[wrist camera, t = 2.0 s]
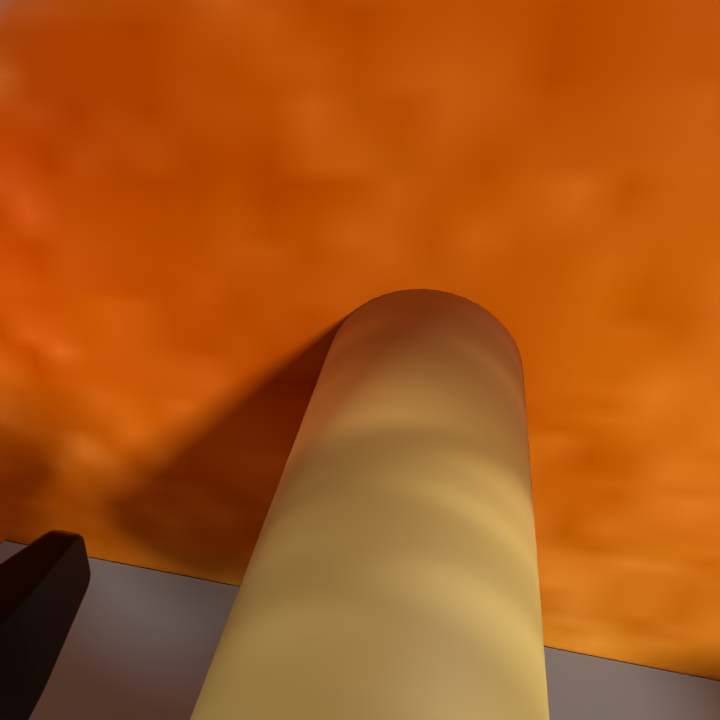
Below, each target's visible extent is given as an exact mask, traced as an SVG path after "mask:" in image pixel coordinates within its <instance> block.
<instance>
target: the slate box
mask: <svg viewBox="0 0 720 720" xmlns="http://www.w3.org/2000/svg"><path fill="white" fill-rule="evenodd" d="M26 546H27V545H23V544H18V543H13V542H8V541H3V542H2V543H1V544H0V564H1V563H2V562H4V561H5V560H6V559H8V558H9V557H11V556H12V555H14V554H15V553H17V552H18V551H20V550H21V549H23V548H24V547H26ZM88 561H89V566H90V571H91V576H90V582H89V586H88V589H87V591H86V594H85V596H84V598H83V601H82V603H81V605H80V608H79V610H78V612H77V615H76V617H75V619H74V622H73V624H72V626H71V629H70V631H69V634H68V636H67V638H66V641H65V643H64V645H63V648H62V650H61V652H60V655H59V657H58V659H57V662H56V664H55V666H54V669H53V671H52V673H51V676H50V678H49V680H48V682H47V685H46V687H45V689H44V691H43V693H42V695H41V697H40V699H39V701H38V703H37V705H36V707H35V709H34V711H33V712H32V714H31V716H30V718H29V720H190V718H191V716H192V713H193V710H194V708H195V705H196V702H197V700H198V697H199V694H200V692H201V689H202V686H203V684H204V681H205V678H206V676H207V673H208V670H209V668H210V665H211V662H212V660H213V657H214V654H215V652H216V649H217V646H218V644H219V641H220V638H221V636H222V633H223V630H224V628H225V625H226V622H227V620H228V617H229V614H230V612H231V609H232V606H233V604H234V601H235V599H236V596H237V593H238V591H239V588H240V587H237V586H232V585H227V584H222V583H217V582H212V581H206V580H201V579H196V578H191V577H186V576H181V575H176V574H171V573H166V572H161V571H156V570H150V569H145V568H140V567H135V566H130V565H125V564H120V563H115V562H110V561H105V560H99V559H94V558H89V557H88ZM544 655H545V668H546V682H547V695H548V708H549V720H720V681H716V680H711V679H706V678H700V677H695V676H690V675H685V674H680V673H675V672H670V671H665V670H660V669H655V668H650V667H644V666H639V665H634V664H629V663H624V662H619V661H614V660H609V659H604V658H599V657H594V656H588V655H583V654H578V653H573V652H568V651H563V650H558V649H553V648H548V647H544Z"/></svg>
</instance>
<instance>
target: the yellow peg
mask: <svg viewBox="0 0 720 720" xmlns="http://www.w3.org/2000/svg"><path fill="white" fill-rule="evenodd" d="M190 720H549V708H548V695H547V682H546V668H545V655H544V642H543V628H542V615H541V602H540V589H539V575H538V562H537V549H536V536H535V522H534V509H533V496H532V483H531V469H530V456H529V443H528V430H527V416H526V403H525V390H524V376H523V367H522V360H521V357H520V353H519V350H518V348H517V346H516V343H515V341H514V339H513V338H512V336H511V335H510V333H509V332H508V330H507V329H506V328H505V327H504V325H503V324H502V323H501V322H500V321H499V320H498V319H497V318H496V317H495V316H493V315H492V314H491V313H490V312H489V311H487V310H486V309H484V308H483V307H481V306H479V305H478V304H476V303H474V302H472V301H470V300H468V299H466V298H463V297H460V296H457V295H454V294H452V293H447V292H442V291H437V290H427V289H414V290H404V291H397V292H393V293H389V294H386V295H383V296H380V297H378V298H375V299H373V300H371V301H369V302H368V303H366V304H364V305H362V306H361V307H359V308H358V309H357V310H356V311H354V312H353V313H352V314H351V315H350V316H349V317H348V318H347V319H346V320H345V321H344V322H343V324H342V325H341V326H340V328H339V329H338V331H337V333H336V334H335V336H334V338H333V340H332V343H331V346H330V348H329V351H328V354H327V356H326V359H325V362H324V364H323V367H322V370H321V372H320V375H319V378H318V380H317V383H316V386H315V388H314V391H313V394H312V396H311V399H310V402H309V404H308V407H307V410H306V412H305V415H304V418H303V420H302V423H301V426H300V428H299V431H298V434H297V436H296V439H295V442H294V444H293V447H292V450H291V452H290V455H289V458H288V460H287V463H286V466H285V468H284V471H283V473H282V476H281V479H280V481H279V484H278V487H277V489H276V492H275V495H274V497H273V500H272V503H271V505H270V508H269V511H268V513H267V516H266V519H265V521H264V524H263V527H262V529H261V532H260V535H259V537H258V540H257V543H256V545H255V548H254V551H253V553H252V556H251V559H250V561H249V564H248V567H247V569H246V572H245V575H244V577H243V580H242V583H241V585H240V588H239V591H238V593H237V596H236V599H235V601H234V604H233V606H232V609H231V612H230V614H229V617H228V620H227V622H226V625H225V628H224V630H223V633H222V636H221V638H220V641H219V644H218V646H217V649H216V652H215V654H214V657H213V660H212V662H211V665H210V668H209V670H208V673H207V676H206V678H205V681H204V684H203V686H202V689H201V692H200V694H199V697H198V700H197V702H196V705H195V708H194V710H193V713H192V716H191V718H190Z"/></svg>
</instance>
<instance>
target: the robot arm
mask: <svg viewBox="0 0 720 720" xmlns="http://www.w3.org/2000/svg"><path fill="white" fill-rule="evenodd" d="M90 576H91V571H90V566H89V561H88V557H87V552H86V547H85V543H84V539H83V538H82V536H81V535H80V534H77V533H72V532H66V531H61V530H52V531H50V532H47V533H46V534H44V535H42V536H41V537H39V538H38V539H36V540H35V541H33V542H32V543H30V544H29V545H27V546H26V547H24V548H23V549H21V550H20V551H18V552H17V553H15V554H14V555H12V556H11V557H9V558H8V559H6V560H5V561H4V562H2V563H1V564H0V720H29V718H30V716H31V714H32V712H33V711H34V709H35V707H36V705H37V703H38V701H39V699H40V697H41V695H42V693H43V691H44V689H45V687H46V685H47V682H48V680H49V678H50V676H51V673H52V671H53V669H54V666H55V664H56V662H57V659H58V657H59V655H60V652H61V650H62V648H63V645H64V643H65V641H66V638H67V636H68V634H69V631H70V629H71V626H72V624H73V622H74V619H75V617H76V615H77V612H78V610H79V608H80V605H81V603H82V601H83V598H84V596H85V594H86V591H87V589H88V586H89V582H90Z"/></svg>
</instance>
